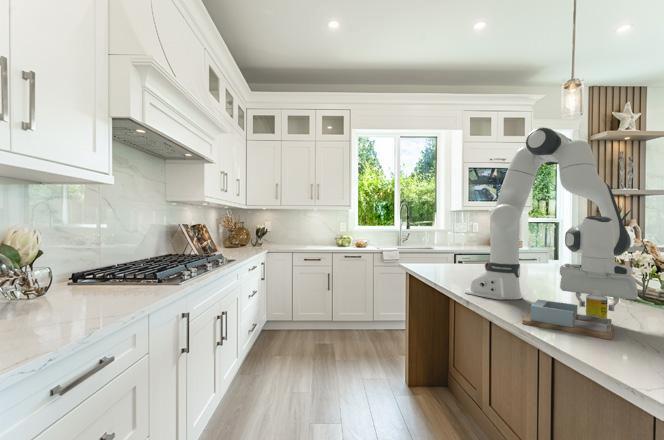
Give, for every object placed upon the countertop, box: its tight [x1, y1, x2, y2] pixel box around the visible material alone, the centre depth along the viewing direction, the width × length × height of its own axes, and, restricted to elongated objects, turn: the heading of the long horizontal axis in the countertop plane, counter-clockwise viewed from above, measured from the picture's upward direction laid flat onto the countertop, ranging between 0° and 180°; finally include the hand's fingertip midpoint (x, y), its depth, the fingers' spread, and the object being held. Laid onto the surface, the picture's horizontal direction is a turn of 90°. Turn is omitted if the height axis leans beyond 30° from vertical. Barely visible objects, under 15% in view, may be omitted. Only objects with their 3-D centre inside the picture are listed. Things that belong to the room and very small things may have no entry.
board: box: [522, 312, 614, 341], centre depth 111 cm, size 22×14×3 cm, turn 50°
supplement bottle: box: [585, 291, 608, 319], centre depth 117 cm, size 6×6×10 cm
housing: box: [530, 299, 579, 327], centre depth 113 cm, size 11×12×4 cm
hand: (596, 308), depth 117 cm, fingers open, 6 cm apart
